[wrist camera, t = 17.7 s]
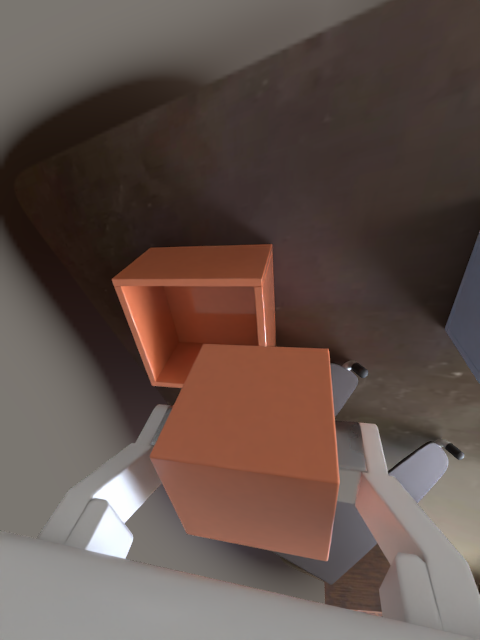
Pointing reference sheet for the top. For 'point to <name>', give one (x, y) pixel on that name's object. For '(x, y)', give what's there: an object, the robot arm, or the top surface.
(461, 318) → the slate bin
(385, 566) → the tissue box cover
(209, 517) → the terracotta block
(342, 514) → the laptop stand
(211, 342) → the terracotta bin
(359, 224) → the top surface
